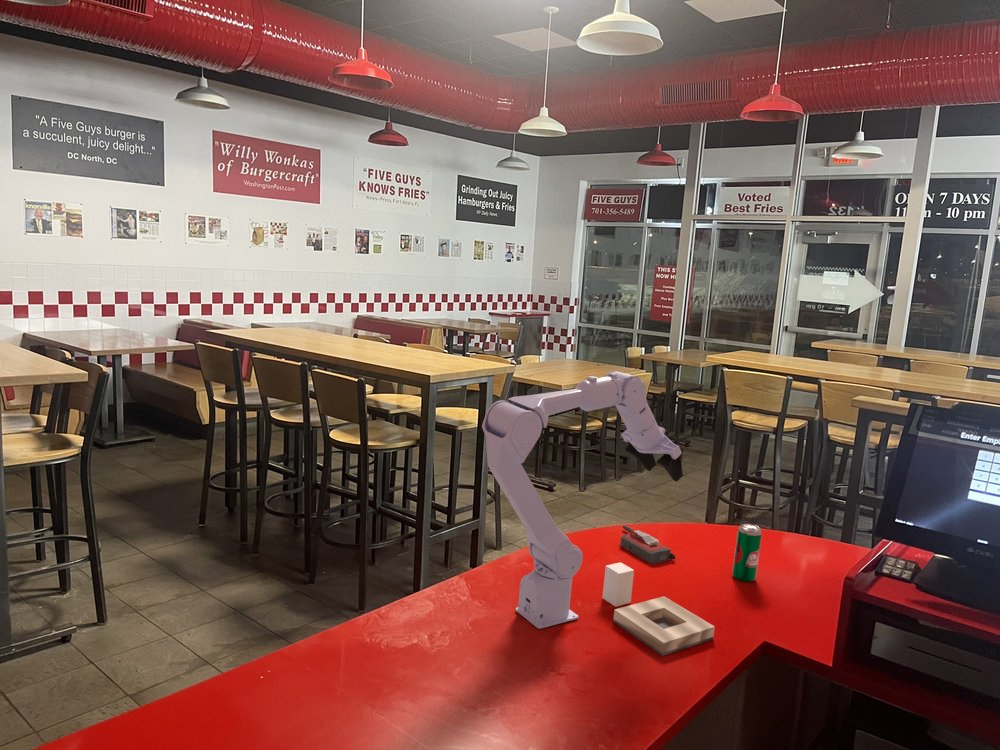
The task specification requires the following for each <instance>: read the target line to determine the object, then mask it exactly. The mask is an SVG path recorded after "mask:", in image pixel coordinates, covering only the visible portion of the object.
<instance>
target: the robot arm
mask: <svg viewBox="0 0 1000 750" xmlns="http://www.w3.org/2000/svg"><path fill="white" fill-rule="evenodd" d="M639 377H640V376H639ZM639 377H638V376H637V375H632V374H629V373H626V372H622V371H616V370H614V371H613V370H610V371H608V372H607V373H606V374H605V376H602V377H597V376H594V375H588V376H587V377H586V378H587V379H585V380H581V381H580V382H579V381H578V383H577V384H576V386H575V388H572V389H565V390H559V391H551V392H550V391H549V392H544V393H537V394H529V395H519V396H511V397H510V398H508V399H507V400H508V401H507V400H498V401H495V402H493V403H491V405H490V406H489V407H488V409H487V410H486V413H485V415H484V419H483V422H482V425H481V428H482V430H483V433H484V435H485V443H486V445H485V446H486V460H487V466H488V469H489V470H490V472H491V473H492V475H493V477H494V479H495V480H496V482H497V484H498V485H499V486H500V489H501V490H502V492H503V493H504V495H505V497H506V498H507V500H508V502H509V504H510V505H511V508H513V511H514V512H515V514H516V515H517V517H518V518H519V520H520V522H521V523H522V525H523V527H524V528H525V530H526V532H527V533H526V535H525V539H526V541H527V542H528V551H529V552H528V553H529V555H530V556H531V558H533V565H534V569H533V570H532V571H531V572H529V573H527V574H526V575H525V574H524V576H522V578H521V580H520V582H519V595H518V606H517V607H516V608H515V611H516V612H517V613H518V614H519V615H521V616H522V617H523V618H524V619H525V620H527V621H528V622H529V623H530V624H531V625H533V626H534V627H535V628H537V629H538V630H541V629H544V628H548V627H551V626H555V625H558V624H563V623H566V622H570V621H574V620H577V619H579V615H578V614H576V613H575V612H574V611H572V610H571V609H570V607H571V606H570V605H571V595H572V584H573V577H575V576H576V573H577V572H578V571H579V570H580V568H581V566H582V564H583V560H584V557H583V551H582V550H581V549H580V547H578V545H575V544H573V543H572V542H571V540H570V538H569V537H568V536H567V535H566V534H565V533H564V532H563V531H562V530H561V529H560V528H559V527H558V525H557V524H556V523H555V521H554V519H553V517H552V515H551V514H550V512H549V511H548V509H547V507H546V506H545V504H544V501H543V500H542V499H541V497H540V495H539V492H538V491H537V489H536V488H535V486H534V484H533V483H532V481H531V479H530V478H529V475H528V474H527V472H526V470H525V469H524V467H523V465H522V464H523V463H525V461H526V459H527V457H528V456H529V454H530V453H531V451H532V450H533V448H534V446H535V445H536V444H537V441H538V440H539V438H540V437H541V434H542V430H543V428H544V429H545V428H547V426H548V423H549V416H553V415H555V414H559V413H562V412H566V411H570V410H572V409H576V408H580V409H581V410H583V411H584V412H590V411H595V410H600V409H604V408H610V407H614V406H615V408H616V410H617V412H618V413H619V416H620V417H621V420H622V422H623V423H624V425H625V427H626V430H624V431H623V432H622V434H621V436H622V438H623V441H624V442H626V443H628V445H627V446H626V447H625V449H624V450H625V452H626V453H628V454H630V455H631V456H633V457H634V458H635V459H636V460H637V461H638V462H639V463H640V464H641V465H642V466H643V467H644V468H645V470H647V471H649V472H651V471H652V470H653V468H654V467H655V466H657V464H658V465H660V466H661V467H662V468H663V469H664V470H665V471H666V472H667V474H668V475H669V477H670V478H671V479H672V480H673V481H674V482H676V483H677V482H679V480H680V479H681V478H683V476H684V474H683V466H682V461H683V460H682V459H683V454H684V450H685V449H684V448H683V446H681V445H678V444H675V443H674V442H672V441H671V439H670V438H668V436H666V434H665V433H666V429H665V428H664V427H661V426H659V425H658V423H657V420H656V419H655V416H654V414H653V412H652V410H651V408H650V406H649V404H648V400H647V397H646V390H647V388H646V387H647V386H646V382H645V380H644V381H643V380H642V379H641V378H639ZM510 401H511V402H510ZM654 454H660V455H661V454H662V456H661V457H660V458H659V459H658V460H657V461H656V459H655V457H654Z"/></svg>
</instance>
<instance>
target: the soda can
mask: <svg viewBox="0 0 1000 750" xmlns="http://www.w3.org/2000/svg"><path fill="white" fill-rule="evenodd" d="M761 531H762V529H761V527H759V526H758V525H756V524H752V523H751V524H750V523H740V525H739V528H738V529H737V534H736V543H735V550H734V557H733V565H732V572H731V575H732V576H733V578H734V579H736V580H737V581H740V582H744V583H751V582H752V583H753V582H754V581H755V580H756V578H757V574H758V573H757V572H758V565H759V557H760V550H761V543H762V536H763V534H762V532H761Z"/></svg>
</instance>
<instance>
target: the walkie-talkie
mask: <svg viewBox="0 0 1000 750" xmlns="http://www.w3.org/2000/svg"><path fill="white" fill-rule="evenodd" d="M622 529H623V530H624V531H627V532H628V533H626V534H623V535H621V537H620V544H619V545H620V547H621V546H622V548H623V547H624V548H623V549H625V548H626V549H628V550H629V551H628V550H627V551H628V552H630V553H631V552H632V553H631V554H633V555H635V556H637V557H638V556H639V557H638V558H640V557H641V559H642V560H644V561H645V562H647V563H649V564H658V563H663V562H666V561H670V560H675V559H676V554H673V553H672V552H671V551H672V549H670V548H669V547H667V546H665V545H663V544H662V543H660V541H659V539H658V538H655V537H653V536H651V535H650V534H649V533H646V532H643V531H642V530H641V529H640V530H639V529H638V530H635V529H633V528H631V527H630V526H628V525H625V524H624V525H623V526H622ZM626 549H625V550H626Z"/></svg>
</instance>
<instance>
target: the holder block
mask: <svg viewBox="0 0 1000 750" xmlns="http://www.w3.org/2000/svg"><path fill="white" fill-rule="evenodd" d="M613 623H614V624H616V625H617V626H619V627H620V628H621V629H623V630H624V631H626V632H628V633H629V634H630V635H632V636H633V637H634V638H636V639H637V640H639V641H640V642H641V643H644V645H646V646H648V647H649V648H650V649H652V650H653V651H654V652H656V653H657V654H659V655H660V656H662V657H663V656H666V655H669V654H672V653H676V652H679V651H682V650H685V649H688V648H691V647H694V646H697V645H699V644H703V643H706V642H709V641H712V640H714V636H715V626H714V625H713V624H711V623H710V622H708V621H706V620H704V619H703V618H701V617H700V616H698V615H697V614H694V613H693V612H691V611H689V610H688V609H686V608H684V607H683V606H681V605H679V604H678V603H677V602H674V601H672V600H671V599H670V598H668V597H666V596H660V597H656V598H653V599H649V600H645V601H642V602H638V603H633V604H631V605H627V606H623V607H619V608H616V609H614V613H613Z"/></svg>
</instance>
